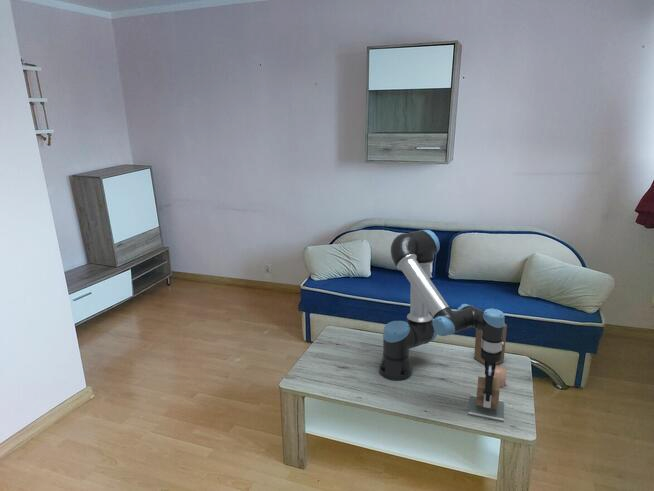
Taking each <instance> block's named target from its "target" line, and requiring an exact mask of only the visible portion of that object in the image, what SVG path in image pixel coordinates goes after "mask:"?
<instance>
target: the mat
mask: <svg viewBox="0 0 654 491" xmlns="http://www.w3.org/2000/svg"><path fill="white" fill-rule="evenodd" d="M476 399H477V394H470V395H469V402H468V403H469V404H468V413H467V415H468V416H472V417H476V418H482V419H487V420H491V421H495V422H501V423H505V408H504V407H505V404H504V403H505V402H504V400H503V399H499V402H498V409H494V408H486V407H483V406H478V405H476Z"/></svg>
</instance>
